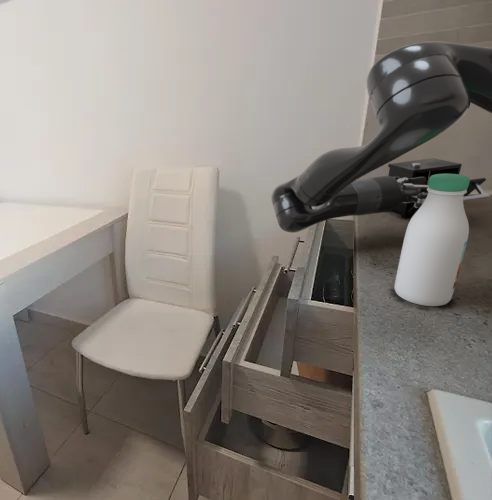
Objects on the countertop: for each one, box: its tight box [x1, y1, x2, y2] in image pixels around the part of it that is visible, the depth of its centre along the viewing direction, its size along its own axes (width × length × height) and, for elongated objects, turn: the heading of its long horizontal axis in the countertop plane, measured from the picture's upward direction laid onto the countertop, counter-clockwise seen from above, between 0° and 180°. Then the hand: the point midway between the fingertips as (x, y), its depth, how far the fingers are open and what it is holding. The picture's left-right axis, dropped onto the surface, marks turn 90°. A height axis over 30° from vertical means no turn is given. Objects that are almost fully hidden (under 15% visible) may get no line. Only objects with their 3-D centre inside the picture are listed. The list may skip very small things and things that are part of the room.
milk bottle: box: [393, 173, 471, 307], centre depth 57 cm, size 8×8×20 cm
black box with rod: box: [387, 157, 463, 219], centre depth 92 cm, size 8×12×13 cm
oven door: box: [408, 177, 491, 213], centre depth 84 cm, size 4×17×10 cm
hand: (440, 186), depth 78 cm, fingers open, 8 cm apart
